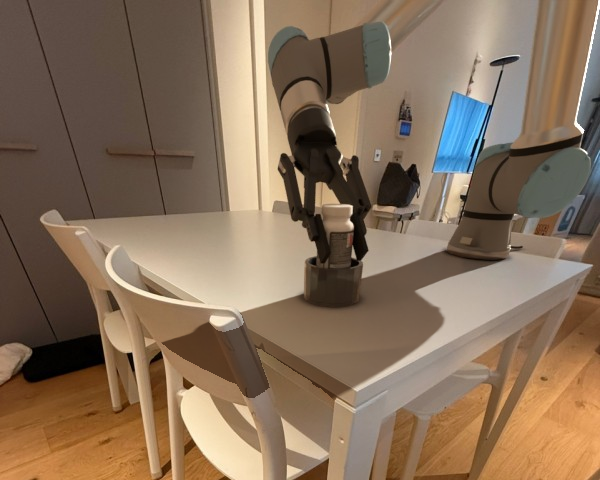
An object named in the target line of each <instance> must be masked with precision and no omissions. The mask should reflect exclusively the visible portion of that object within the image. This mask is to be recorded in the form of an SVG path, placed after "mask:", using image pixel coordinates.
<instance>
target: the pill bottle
mask: <svg viewBox="0 0 600 480" xmlns="http://www.w3.org/2000/svg"><path fill="white" fill-rule="evenodd" d="M352 209H353V206H352V205H347V204H340V203H324V204H322V205H321V216H322V221H323V225H324V229H325V232H326V236H327V240H328V243H329V247H330V251H331V254H330V256H329V257H328V259H327V261H326V263H323V264H321V263H320V259H319V256H318V252H317V251H316V256H317V263H316V266H318V267H323V268H335V269H340V268H350V267H351V257H352V254H353V235H354V225H353V223H352V222H351V221H350V216H351V215H352Z"/></svg>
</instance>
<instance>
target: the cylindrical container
mask: <svg viewBox="0 0 600 480" xmlns="http://www.w3.org/2000/svg"><path fill="white" fill-rule="evenodd" d="M316 263H317V255H314V256H311V257H308V258H306V259H305V260H304V275H303V298H304V300H305V301H306V302H308V303H310V304H312V305H315V306H319V307H325V308H343V307H348V306H353V305H355V304H356V303H358V302H359V300H360V294H361V293H360V292H361V286H362V276H363V269H364V262H363V261H362V260H361V261H357V259H356V257H352V256H351V267H350V268H340V269H335V268H323V267H318V266H316Z"/></svg>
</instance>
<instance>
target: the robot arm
mask: <svg viewBox="0 0 600 480" xmlns="http://www.w3.org/2000/svg"><path fill="white" fill-rule="evenodd" d="M446 1H447V0H378V1H377V2H375V4H374V5H373V6H372V7H371V8H370V9H369V10H368V11H367V12H366V13H365V14H364V15H363V16H362V17H361V18H360V19H359V21H358V22H356V23H355V25H354V26H353V27H351V28H349V29H345V30H341V31H338V32H335V33H331V34H329V35H326V36H321V37H315V38H313V39H309V37H308V36H307V35H306V33H305V31H304V30H303V29H301V28H298V27H295V26H293V25H288V26H285V27H283V28H281V29H280V30H279V31H277V32H276V34H275V35H274V36H273V38H272V39H271V41H270V43H269V47H268V51H267V64H268V68H269V73H270V77H271V84H272V88H273V90H274V93H275V97H276V100H277V104H278V107H279V111H280V116H281V119H282V123H283V126H284V129H285V130H284V131H285V133H286V136H287V143H288V145H289V150H290V152H291V153H290V154H291V155H289V154H287V153H286V152H282V153H281V154H280V156H279V161H278V165H277V172H278V173H279V176H281V178H282V180H283V186H284V190H285V194H286V200H287V205H288V209H289V214H290V219H291V220H292V222H294V223H296V222H297V223H298V222H299V221H300V222H302V223H301V226H302V228H303V229H306V232H307V236H308V240H309V241H310V242H311V243H312V242H313V243H314V244H315V249H316V253H317V252H318V256H319V259H320V263H321V264H323V263H326V261H327V259H328V257H329V256H330V254H331V251H330V247H329V243H328V240H327V236H326V232H325V229H324V225H323V221H322V220H323V217H322V213H316V196H317V195H316V192H317V184H318V183H323V184H325V185H326V187H327V188H328V190H330V191H332V192H333V194H334V196H335V197H336V199H337V201H338V204H347V205H352V206H353V209H352V215H351V216H350V221H351V222H352V223H353V225H354V235H353V245H352V249H353V251H354V255H355V258H356V259H357V261H362V260H363V259H364V258H365V256H366V255H367V254H368V253H369V250H370V249H369V246H368V243H367V240H366V237H365V236H366V235H367V231H368V229H367V226H366V223H365V219H366V217H367V216H368V214H369V213H370V211H371V209H372V208H373V207H372V206H373V205H372V203H371V200H370V197H369V194H368V192H367V188H366V185H365V183H364V180H363V177H362V174H361V172H360V171H361V170H360V168H359V167H360V165H359V163H360V160H359V157H358V156H357V155H355V154H354V155H352V156H351V157H350V158H348V157H344V156H343V153H342V152H341V151H340V150H339V148H338V142H337V134H336V129H335V127H334V124H333V120H332V117H331V112H330V110H329V106H328V104H329V105H339V104H342V103H343V102H344V101H345V100H346V99H347V98H348V97H351V96H353V95H354V94H355V93H357V92H359V91H362V90H366V89H372V88H373V87H375V86H378V85H381V84H383V83H385V81H386V80H387V78H388V76H389V73H390V69H391V60H392V54H393V53H394V52H395V51H396V50H397V49H398V48H399V47H400V46H401V45H403V44H404V42H406V40H407V39H409V38H410V36H411V35H413V34H414V33H415V32H416V30H418V29H419V28H420V27H421V26H422V25H423V24H424V23H425V22H426V21H427V20H428V19H429V18H430V17H431V16H432V15H433V14H434V13H435V12H436V11H437V10H438V9H439V8H440V7H441V6H442V5H444V3H445V2H446ZM599 10H600V0H537V7H536V14H535V15H536V16H535V23H534V30H533V36H532V46H531V53H530V59H529V67H528V76H527V83H526V91H525V96H524V97H525V98H524V99H525V100H524V105H523V113H522V119H521V128H520V133H519V135H518V137H517V138H516V139H514V141H513V142H512V141H511V142H506V143H497V144H493V145H489V146H487V147H485V148H483V149H482V150H481V151H480V153H479V154H478V158H477V160H476V163H475V165H474V168H473V175H472V177H471V181H470V186H469V189H468V194H467V198H466V201H465V205H464V209H463V213H462V216H461V220H460V221H459V223H458V225H457V226H456V228H455V230H454V232H453V234H452V236H451V237H450V239H449V240H448V242H447V245H446V252H447V253H449V254H451V255H454V256H457V257H461V258H467V259H473V260H474V259H475V260H485V261H486V260H487V261H495V260H496V261H497V260H505V259H508V257H509V255H510V252H511V249H513V250H515V249H516V250H518V249H523V248H524V246H523V245H511V240H512V239H511V238H512V224H513V223H512V222H513V219H514V217H515V215H518V216H521V217H524V218H526V219H527V218H528V219H533V218H535V219H536V218H537V219H545V218H549V217H552V216H555V215H556V214H559V213H560V212H562V211H563V210H564V209H566V208H567V207H568V206H569V205H570V204H571V203H572V202H573V201H575V200H576V198H577V197H578V196H579V195H580V194H581V192H582V190H583V188H584V187H585V185H586V184H587V182H588V179H589V176H590V174H591V168H592V167H591V166H592V162H591V157H590V156H588V152H587V151H586V150H585V149H583V148H582V147H581V146H582V141H583V136H584V131H585V130H584V129H583V128H582V126H580V124H578V122H577V117H578V113H579V107H580V102H581V98H582V93H583V89H584V84H585V79H586V73H587V69H588V63H589V59H590V54H591V50H592V44H593V40H594V34H595V30H596V25H597V20H598V15H599ZM296 170H297V171H298V172H299V173H300V174H301V176H303V189H304V191H303V201H302V197H301V192H300V188H299V183H298V178H297V174H296Z"/></svg>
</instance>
